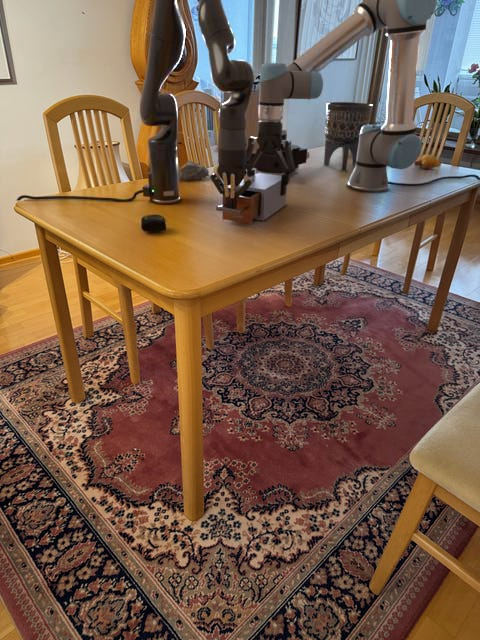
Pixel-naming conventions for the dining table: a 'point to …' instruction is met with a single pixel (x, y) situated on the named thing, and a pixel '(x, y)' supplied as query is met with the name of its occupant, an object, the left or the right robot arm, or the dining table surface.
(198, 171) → the rock
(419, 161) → the toy
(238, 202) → the drawer
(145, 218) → the tape measure
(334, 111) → the planter
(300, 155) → the mechanical component
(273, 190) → the grey rectangular box
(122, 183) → the dining table surface
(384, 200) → the dining table surface
